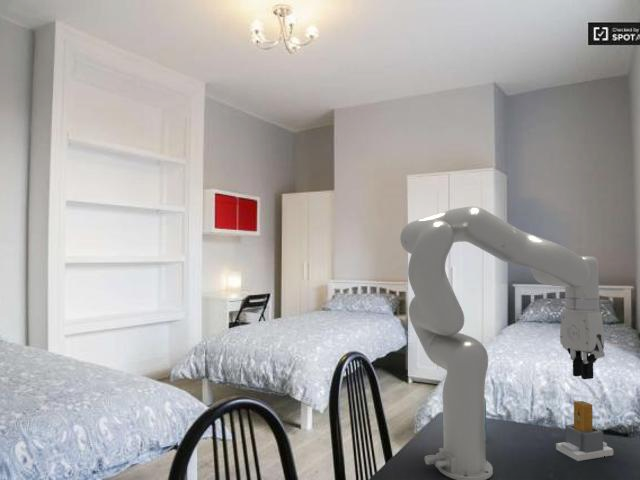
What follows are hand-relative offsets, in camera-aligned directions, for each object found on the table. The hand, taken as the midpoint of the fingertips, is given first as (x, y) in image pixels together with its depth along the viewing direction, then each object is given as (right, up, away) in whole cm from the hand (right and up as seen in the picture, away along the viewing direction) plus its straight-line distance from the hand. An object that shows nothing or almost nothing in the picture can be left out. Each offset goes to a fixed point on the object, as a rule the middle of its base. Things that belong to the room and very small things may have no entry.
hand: (583, 376), depth 122 cm
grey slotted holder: (0, -19, 0) cm, 19 cm away
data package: (-24, -20, +13) cm, 34 cm away
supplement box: (0, -17, 0) cm, 17 cm away
